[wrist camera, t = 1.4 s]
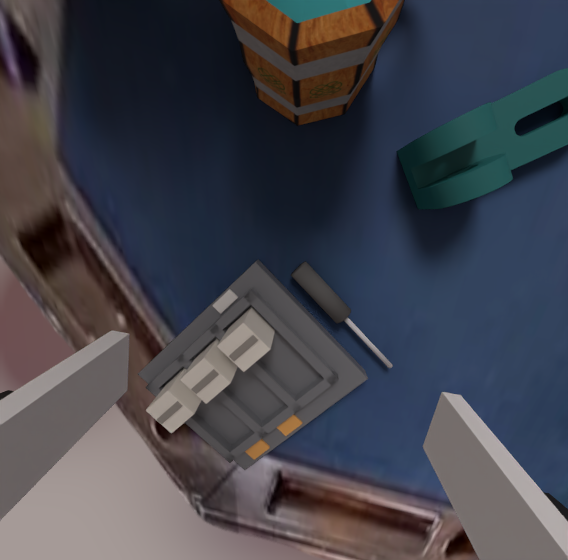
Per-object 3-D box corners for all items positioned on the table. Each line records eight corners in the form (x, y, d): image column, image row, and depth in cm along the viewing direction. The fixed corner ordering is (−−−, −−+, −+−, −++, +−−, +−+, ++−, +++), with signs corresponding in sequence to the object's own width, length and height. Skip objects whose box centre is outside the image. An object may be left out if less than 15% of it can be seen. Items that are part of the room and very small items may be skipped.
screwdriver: (291, 272, 35) (290, 277, 33) (305, 259, 35) (305, 263, 32) (380, 366, 37) (385, 377, 35) (395, 355, 37) (401, 365, 34)
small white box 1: (166, 384, 37) (144, 411, 32) (186, 366, 36) (167, 391, 31) (188, 404, 38) (170, 434, 33) (208, 387, 37) (193, 414, 32)
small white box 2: (228, 327, 35) (216, 347, 30) (251, 306, 34) (243, 323, 29) (251, 349, 35) (243, 372, 30) (275, 329, 34) (270, 350, 29)
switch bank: (145, 366, 40) (132, 379, 36) (258, 259, 35) (253, 263, 32) (247, 458, 42) (243, 477, 39) (364, 369, 37) (370, 384, 34)
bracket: (417, 209, 33) (452, 208, 25) (396, 151, 31) (426, 133, 24) (586, 131, 30) (684, 105, 22) (570, 65, 28) (669, 12, 21)
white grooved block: (196, 356, 36) (179, 380, 31) (217, 337, 35) (203, 358, 30) (219, 378, 37) (205, 404, 32) (240, 359, 36) (230, 383, 31)
